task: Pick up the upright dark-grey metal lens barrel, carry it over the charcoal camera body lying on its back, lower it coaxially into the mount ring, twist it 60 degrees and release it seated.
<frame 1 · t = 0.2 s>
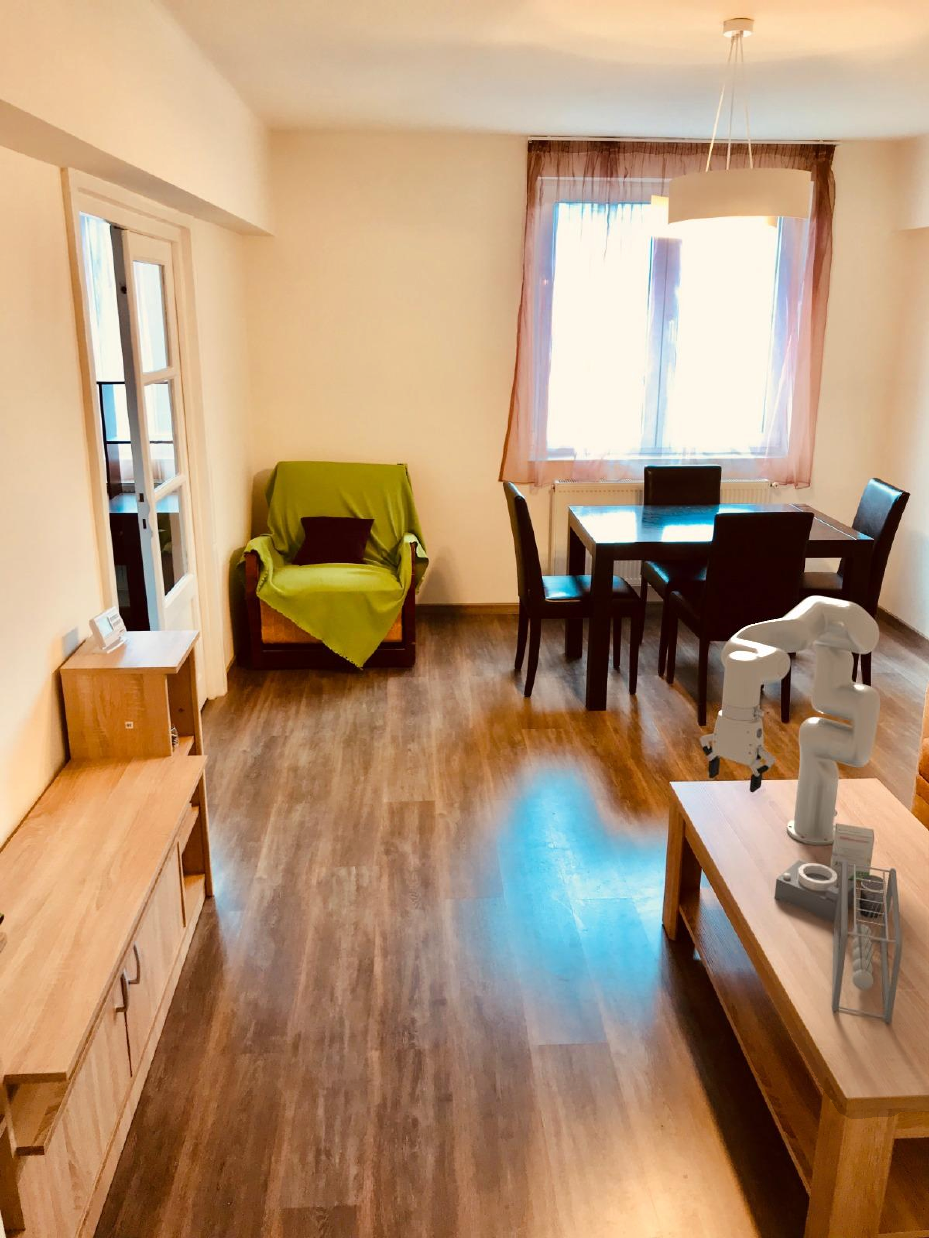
hand: (733, 782, 210), 31 cm above the table, fingers open, 9 cm apart
camera body: (814, 899, 222), on the table
lens: (869, 912, 217), on the table
ink box: (849, 874, 232), on the table
newton's cradle: (860, 974, 197), on the table
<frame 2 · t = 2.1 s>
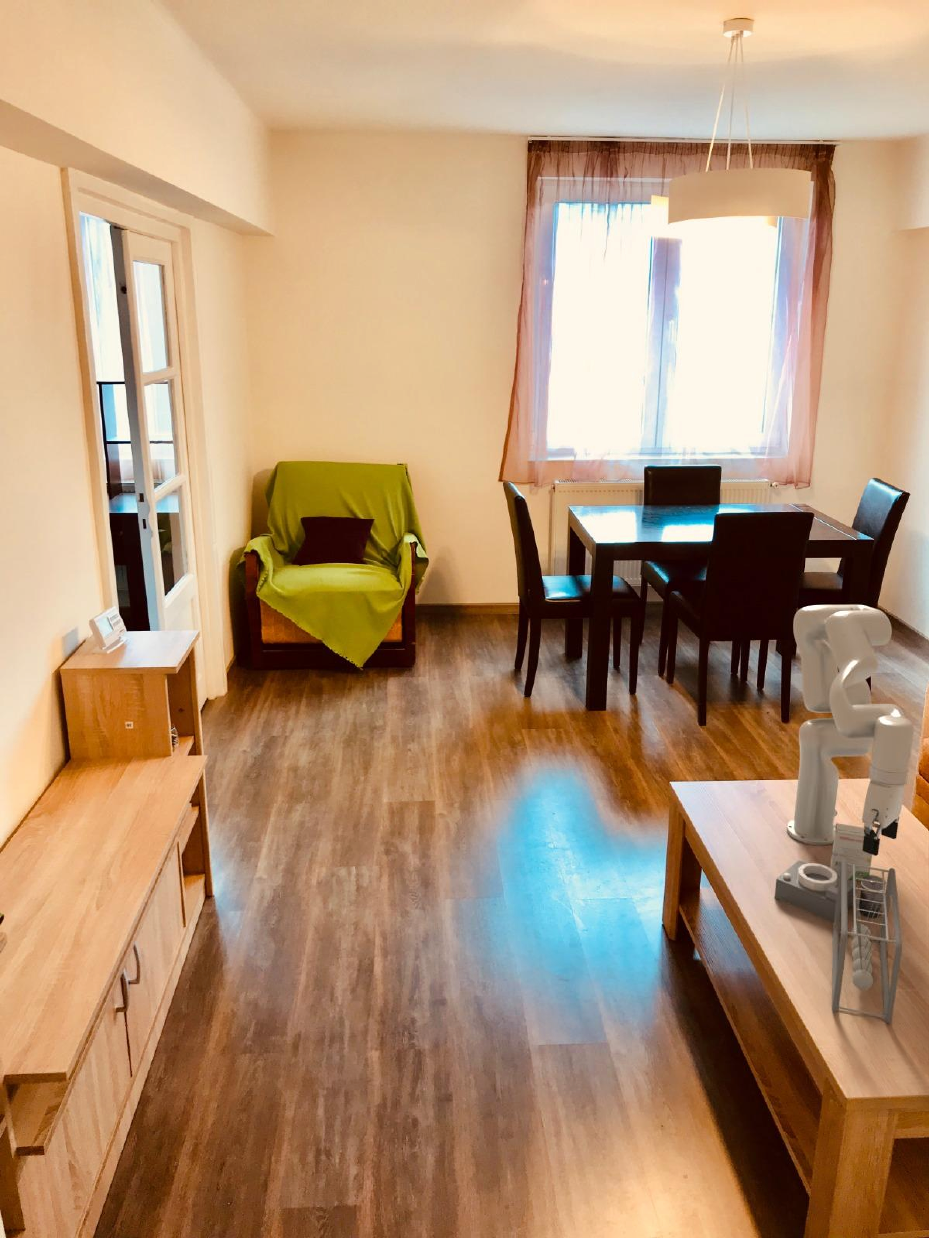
hand: (879, 844, 212), 17 cm above the table, fingers open, 9 cm apart
nothing on the table moved.
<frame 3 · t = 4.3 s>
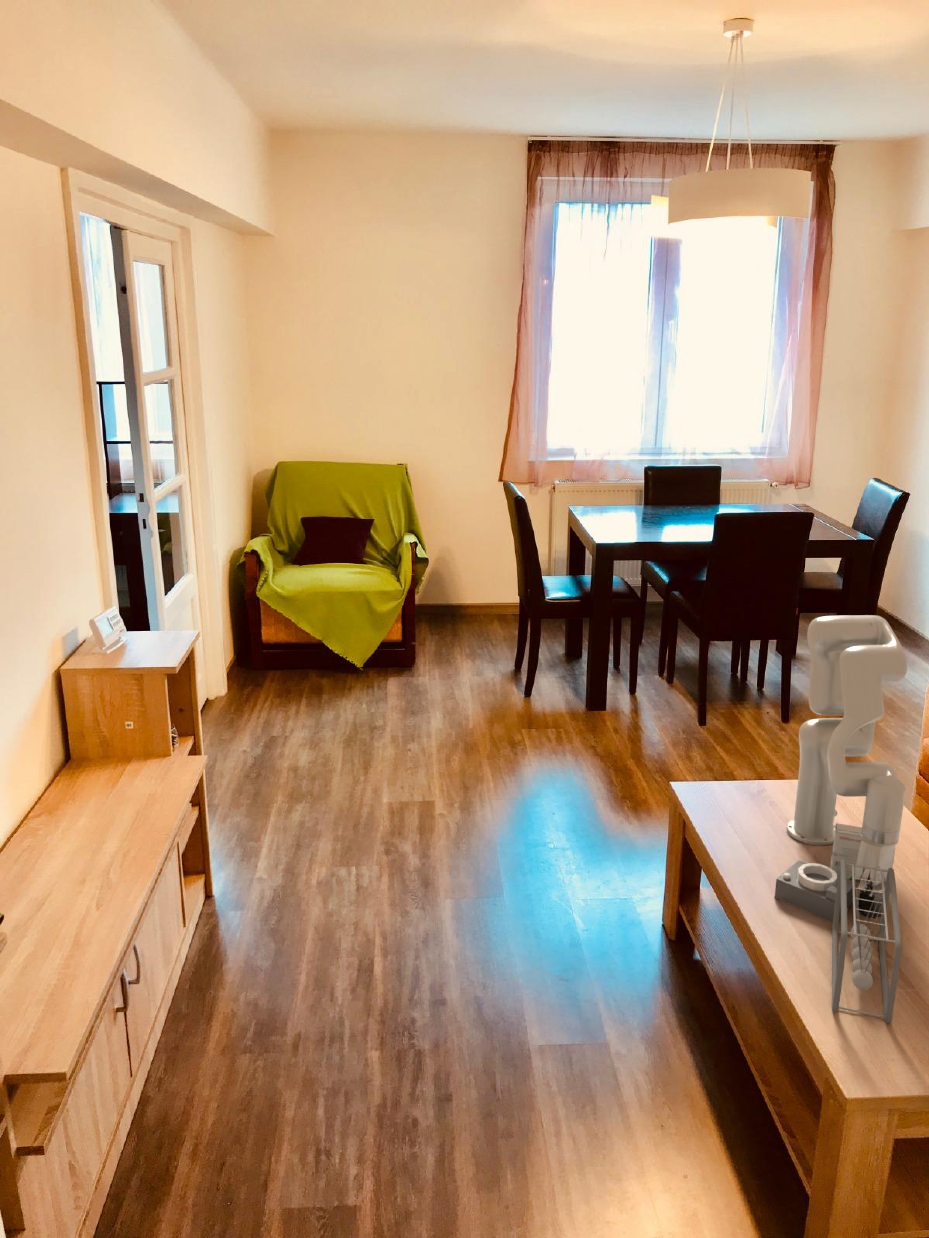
hand: (870, 903, 216), 2 cm above the table, fingers closed on lens, 4 cm apart
lens: (869, 912, 217), on the table, touching gripper
everything else where it was.
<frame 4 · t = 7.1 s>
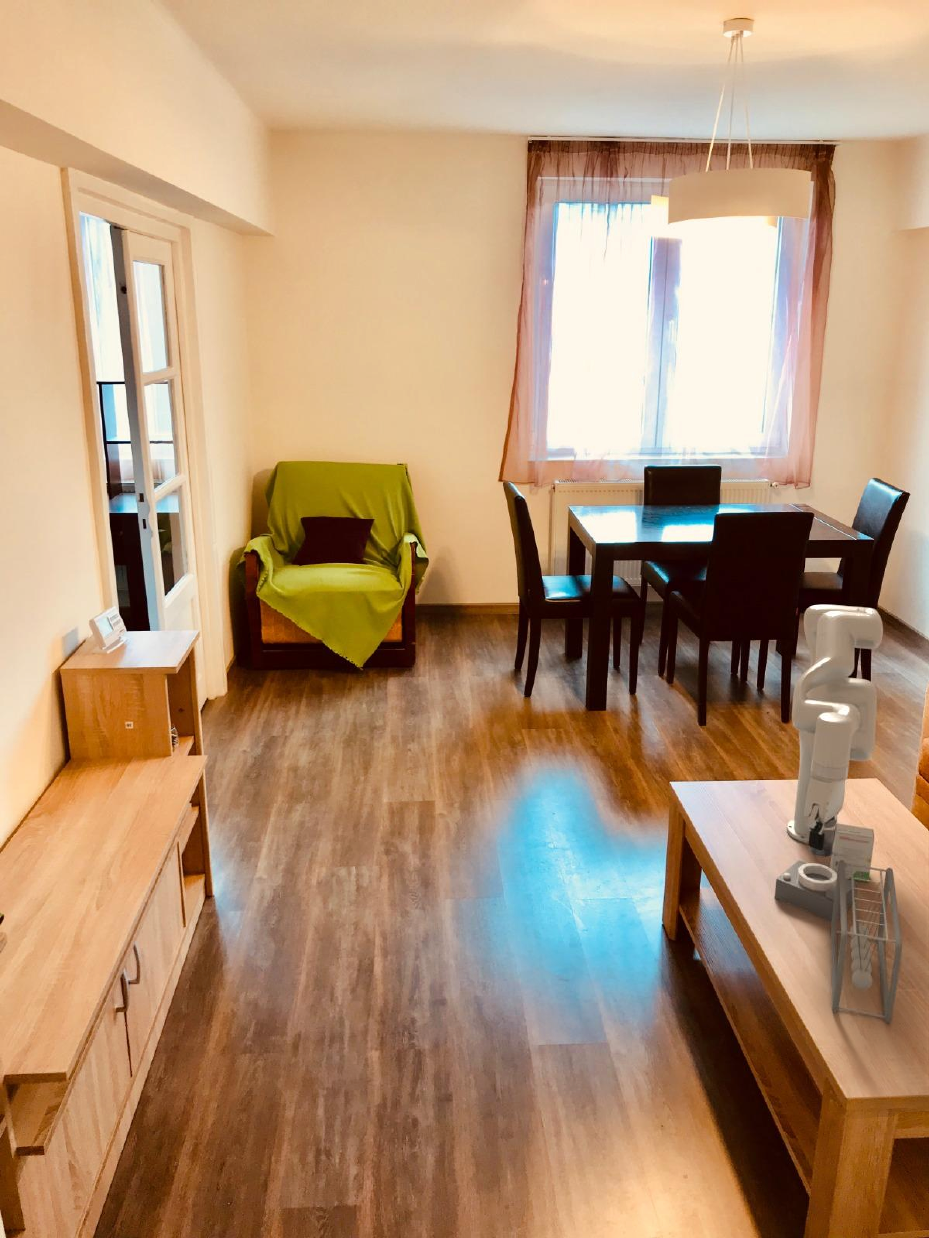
hand: (821, 842, 217), 15 cm above the table, fingers closed on lens, 4 cm apart
lens: (820, 851, 217), point 13 cm above the table, touching gripper
everything else where it was.
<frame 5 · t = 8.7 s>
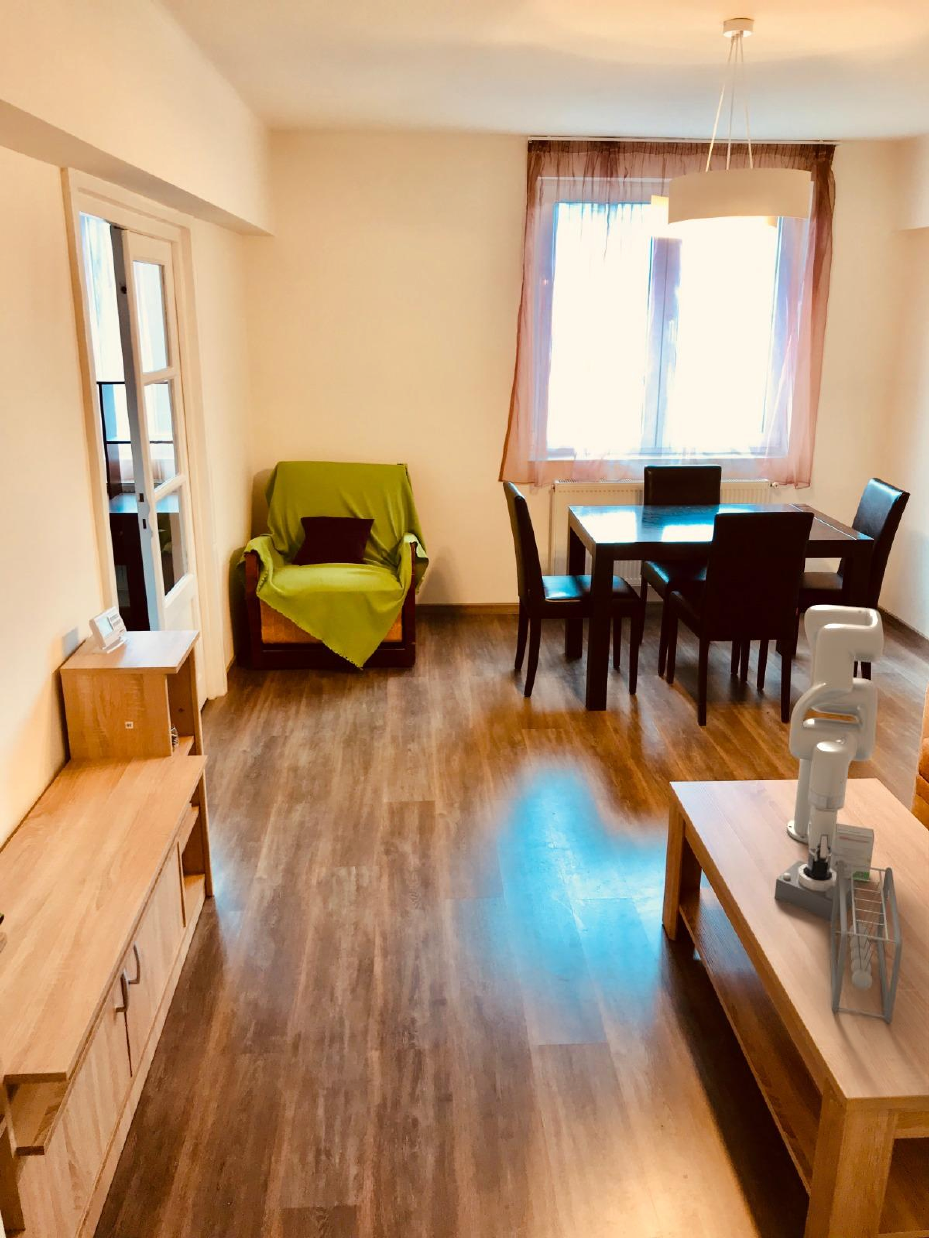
hand: (818, 868, 219), 8 cm above the table, fingers closed on lens, 4 cm apart
lens: (817, 877, 220), point 6 cm above the table, touching gripper
everything else where it was.
when the fingers open (8 cm above the table, at t = 9.9 s): lens stays where it is, resting on camera body.
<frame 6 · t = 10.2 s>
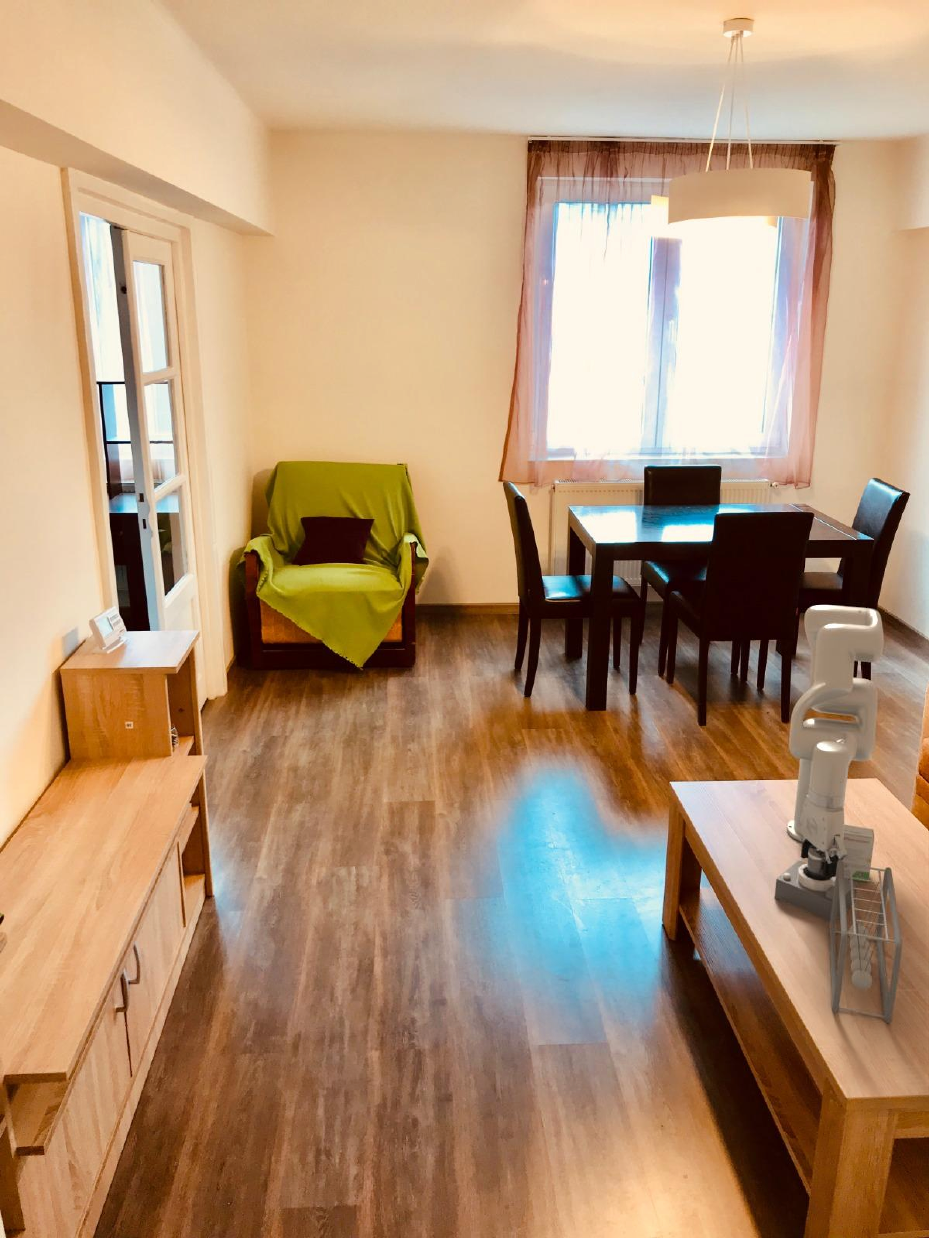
hand: (818, 866, 219), 9 cm above the table, fingers open, 7 cm apart
lens: (817, 880, 220), point 5 cm above the table, touching camera body
everything else where it was.
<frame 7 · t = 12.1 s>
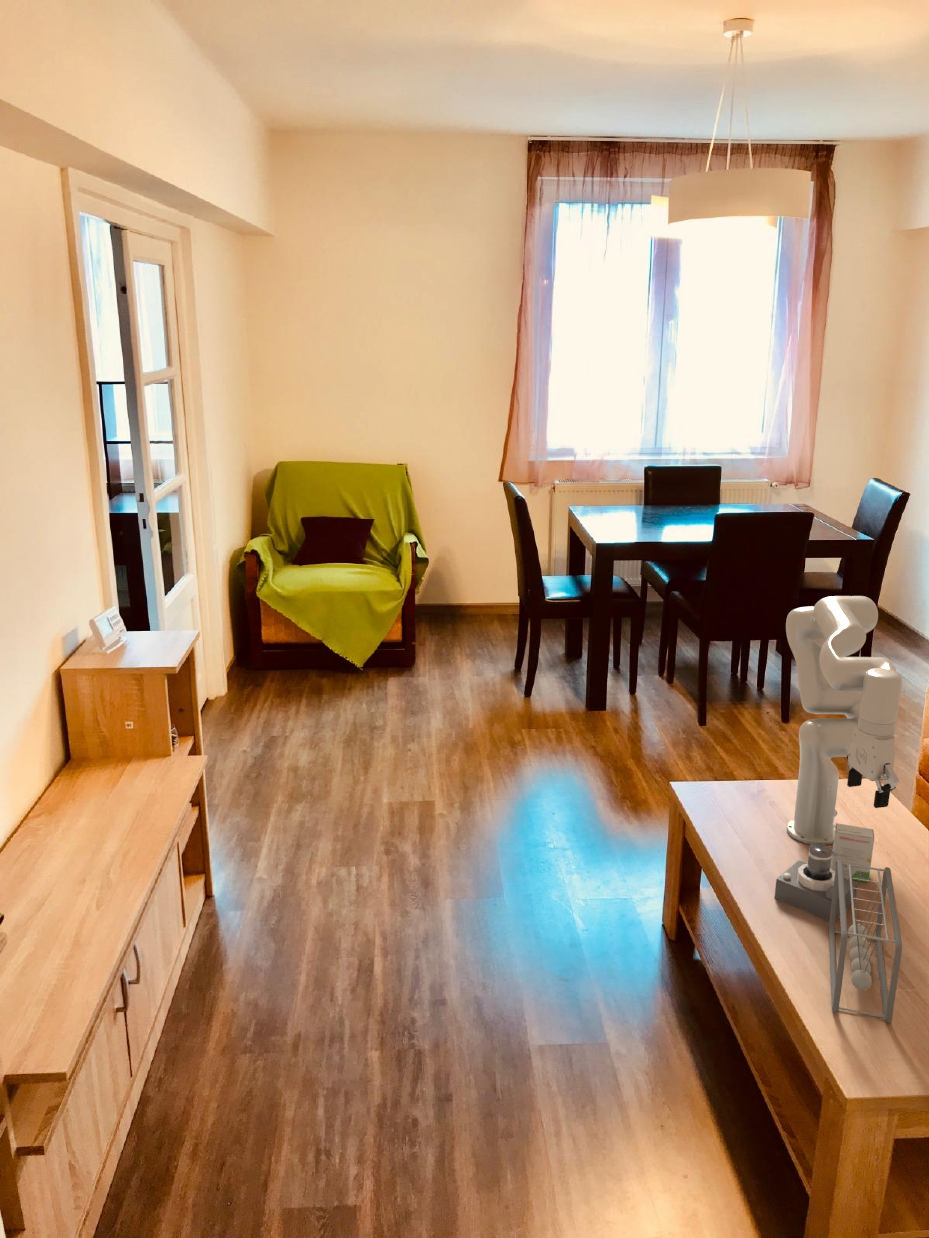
hand: (867, 796, 214), 26 cm above the table, fingers open, 9 cm apart
nothing on the table moved.
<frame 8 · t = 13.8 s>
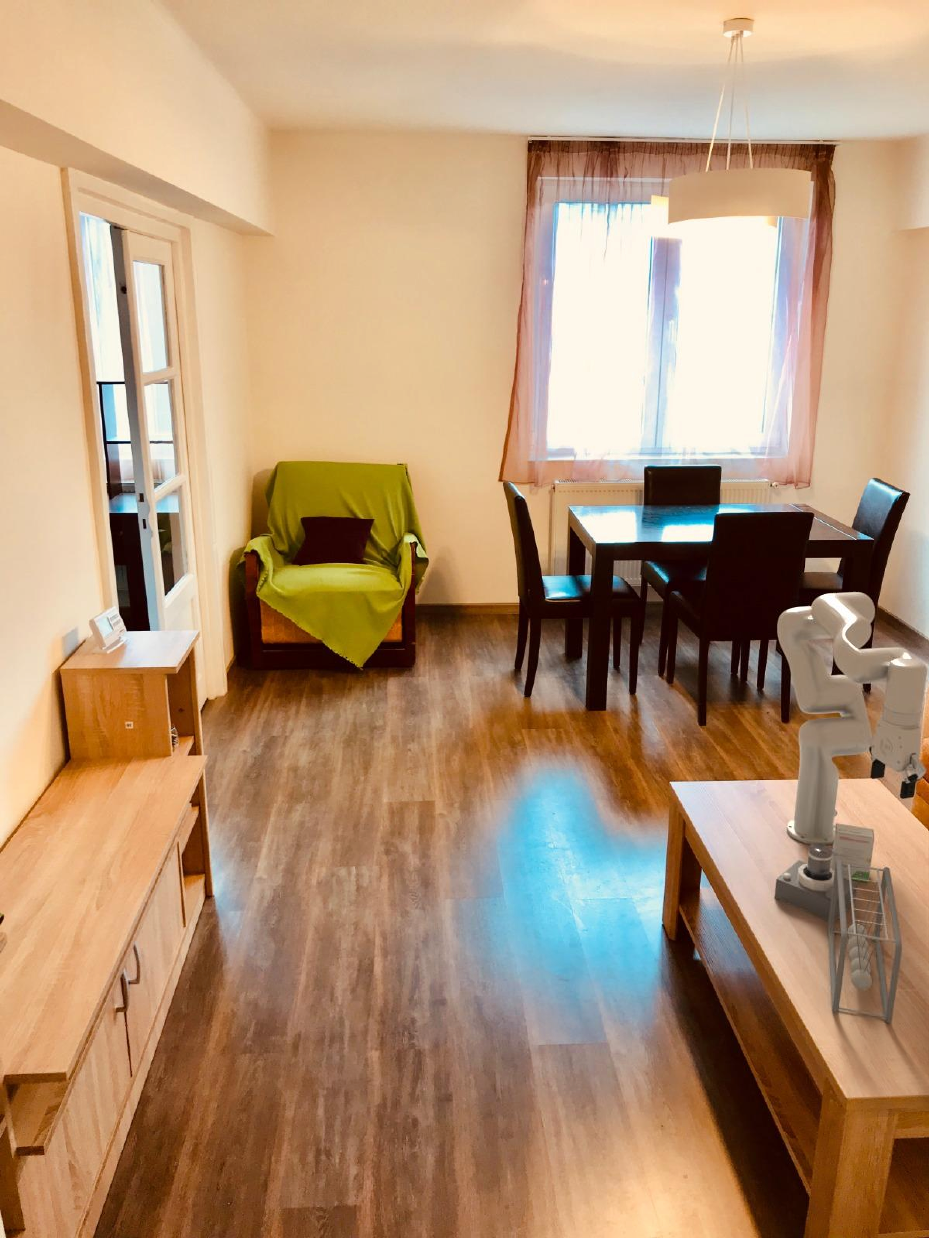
hand: (891, 787, 213), 28 cm above the table, fingers open, 9 cm apart
nothing on the table moved.
at the end: lens 0.1 cm off-centre on the camera body, point 5.0 cm above the camera body's base; lens tilted 1°; the gripper is holding nothing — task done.
